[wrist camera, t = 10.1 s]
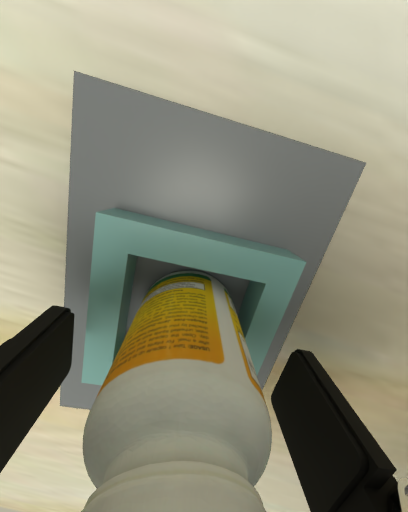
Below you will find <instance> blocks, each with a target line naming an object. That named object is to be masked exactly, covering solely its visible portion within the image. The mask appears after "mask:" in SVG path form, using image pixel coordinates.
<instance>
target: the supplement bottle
mask: <svg viewBox="0 0 408 512" xmlns="http://www.w3.org/2000/svg"><path fill="white" fill-rule="evenodd" d="M271 443H272V430H271V422H270V417H269V413H268V409H267V406H266V403H265V400H264V396H263V393H262V390H261V387H260V383H259V381H258V378H257V375H256V371H255V368H254V365H253V362H252V359H251V356H250V353H249V350H248V347H247V344H246V341H245V338H244V335H243V332H242V329H241V326H240V322H239V319H238V316H237V313H236V310H235V307H234V304H233V302H232V299H231V297H230V294H229V292H228V291H227V289H226V288H225V287H224V286H223V285H222V284H221V283H220V282H219V281H218V280H217V279H215V278H214V277H212V276H210V275H208V274H206V273H203V272H199V271H178V272H174V273H170V274H168V275H166V276H164V277H162V278H160V279H159V280H158V281H156V282H155V283H154V284H153V285H152V286H151V287H150V289H149V290H148V291H147V293H146V295H145V297H144V299H143V301H142V303H141V305H140V307H139V309H138V311H137V313H136V315H135V317H134V320H133V322H132V324H131V326H130V328H129V330H128V332H127V334H126V336H125V339H124V341H123V343H122V345H121V347H120V349H119V351H118V353H117V355H116V358H115V360H114V362H113V364H112V366H111V368H110V370H109V372H108V374H107V376H106V378H105V381H104V383H103V385H102V387H101V389H100V391H99V393H98V395H97V397H96V399H95V401H94V403H93V406H92V408H91V410H90V412H89V415H88V418H87V421H86V424H85V429H84V435H83V456H84V462H85V466H86V469H87V472H88V475H89V477H90V479H91V481H92V482H93V484H94V485H95V487H96V488H97V490H96V491H95V492H94V493H93V494H92V495H91V496H90V497H89V499H88V501H87V503H86V505H85V507H84V509H83V510H82V511H81V512H266V511H265V509H264V507H263V503H262V500H261V498H260V496H259V494H258V492H257V490H256V489H255V488H254V486H255V485H256V483H257V482H258V480H259V479H260V477H261V475H262V474H263V472H264V470H265V467H266V465H267V462H268V459H269V455H270V451H271Z"/></svg>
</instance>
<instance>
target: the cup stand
mask: <svg viewBox="0 0 408 512" xmlns="http://www.w3.org/2000/svg"><path fill="white" fill-rule="evenodd" d="M365 165H366V163H365V162H362V161H359V160H356V159H353V158H349V157H346V156H343V155H340V154H337V153H334V152H330V151H327V150H324V149H321V148H318V147H314V146H311V145H308V144H305V143H302V142H299V141H295V140H292V139H289V138H286V137H283V136H280V135H276V134H273V133H270V132H267V131H264V130H261V129H257V128H254V127H251V126H248V125H245V124H241V123H238V122H235V121H232V120H229V119H226V118H222V117H219V116H216V115H213V114H210V113H207V112H203V111H200V110H197V109H194V108H191V107H187V106H184V105H181V104H178V103H175V102H172V101H168V100H165V99H162V98H159V97H156V96H153V95H149V94H146V93H143V92H140V91H137V90H134V89H130V88H127V87H124V86H121V85H118V84H114V83H111V82H108V81H105V80H102V79H99V78H95V77H92V76H89V75H86V74H83V73H80V72H76V71H74V84H73V108H72V131H71V155H70V179H69V202H68V226H67V250H66V273H65V297H64V307H65V308H69V309H70V310H71V313H74V315H75V317H74V333H73V349H72V364H71V368H70V371H69V373H68V375H67V376H66V378H65V379H64V381H63V382H62V384H61V391H60V406H65V407H73V408H81V409H89V410H91V408H92V406H93V403H94V401H95V399H96V397H97V395H98V393H99V391H100V389H101V387H102V385H103V383H104V381H105V378H106V376H107V374H108V372H109V370H110V368H111V366H112V364H113V362H114V360H115V358H116V355H117V353H118V351H119V349H120V347H121V345H122V343H123V341H124V339H125V336H126V334H127V332H128V330H129V328H130V326H131V324H132V322H133V320H134V317H135V315H136V313H137V311H138V309H139V307H140V305H141V303H142V301H143V299H144V297H145V295H146V293H147V291H148V290H149V289H150V287H151V286H152V285H153V284H154V283H155V282H156V281H158V280H159V279H160V278H162V277H164V276H166V275H168V274H170V273H174V272H178V271H199V272H203V273H206V274H208V275H210V276H212V277H214V278H215V279H217V280H218V281H219V282H220V283H221V284H222V285H223V286H224V287H225V288H226V289H227V291H228V292H229V294H230V297H231V299H232V302H233V304H234V307H235V310H236V313H237V316H238V319H239V322H240V326H241V329H242V332H243V335H244V338H245V341H246V344H247V347H248V350H249V353H250V356H251V359H252V362H253V365H254V368H255V371H256V375H257V378H258V381H259V383H260V387H261V390H262V389H263V387H264V385H265V383H266V380H267V378H268V376H269V374H270V372H271V370H272V367H273V365H274V363H275V361H276V359H277V357H278V354H279V352H280V350H281V348H282V346H283V343H284V341H285V339H286V337H287V335H288V333H289V330H290V328H291V326H292V324H293V322H294V319H295V317H296V315H297V313H298V311H299V309H300V306H301V304H302V302H303V300H304V298H305V296H306V293H307V291H308V289H309V287H310V285H311V282H312V280H313V278H314V276H315V274H316V272H317V269H318V267H319V265H320V263H321V261H322V258H323V256H324V254H325V252H326V250H327V248H328V245H329V243H330V241H331V239H332V237H333V234H334V232H335V230H336V228H337V226H338V224H339V221H340V219H341V217H342V215H343V213H344V211H345V208H346V206H347V204H348V202H349V200H350V197H351V195H352V193H353V191H354V189H355V187H356V184H357V182H358V180H359V178H360V176H361V173H362V171H363V169H364V167H365Z"/></svg>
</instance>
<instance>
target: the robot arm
mask: <svg viewBox="0 0 408 512" xmlns="http://www.w3.org/2000/svg"><path fill="white" fill-rule="evenodd" d="M74 317H75V315H74V313H71V310H70V309H69V308H65V307H60V306H51V307H50V308H49V309H47V310H46V311H45V312H44V313H43V314H41V315H40V316H39V317H38V318H36V319H35V320H34V321H33V322H32V323H30V324H29V325H28V326H27V327H25V328H24V329H23V330H22V331H20V332H19V333H18V334H17V335H16V336H14V337H13V338H11V339H9V340H7V341H6V342H4V343H3V344H2V345H1V346H0V473H1V471H2V470H3V468H4V467H5V465H6V464H7V462H8V461H9V459H10V458H11V457H12V455H13V454H14V452H15V451H16V449H17V448H18V446H19V445H20V443H21V442H22V441H23V439H24V438H25V436H26V435H27V433H28V432H29V430H30V429H31V427H32V426H33V424H34V423H35V422H36V420H37V419H38V417H39V416H40V414H41V413H42V411H43V410H44V408H45V407H46V405H47V404H48V403H49V401H50V400H51V398H52V397H53V395H54V394H55V392H56V391H57V389H58V388H59V387H60V385H61V384H62V382H63V381H64V379H65V378H66V376H67V375H68V373H69V371H70V368H71V364H72V349H73V333H74ZM271 402H272V405H273V408H274V411H275V414H276V417H277V419H278V422H279V425H280V428H281V430H282V433H283V436H284V439H285V442H286V444H287V447H288V450H289V453H290V455H291V458H292V461H293V464H294V467H295V469H296V472H297V475H298V478H299V480H300V483H301V486H302V489H303V492H304V494H305V497H306V500H307V503H308V505H309V508H310V511H311V512H408V478H400V480H399V481H398V482H397V481H396V480H395V478H394V477H393V474H394V473H395V471H396V468H395V467H394V465H393V464H392V463H391V461H390V460H389V459H388V457H387V456H386V454H385V453H384V452H383V450H382V449H381V447H380V446H379V445H378V443H377V442H376V440H375V439H374V438H373V436H372V435H371V434H370V432H369V431H368V429H367V428H366V427H365V425H364V424H363V422H362V421H361V420H360V418H359V417H358V415H357V414H356V413H355V411H354V410H353V409H352V407H351V406H350V404H349V403H348V402H347V400H346V399H345V397H344V396H343V395H342V393H341V392H340V390H339V389H338V388H337V386H336V385H335V384H334V382H333V381H332V379H331V378H330V377H329V375H328V374H327V372H326V371H325V370H324V368H323V367H322V365H321V364H320V363H319V361H318V360H317V359H316V357H315V356H314V354H313V353H312V352H310V351H305V350H300V349H297V350H295V352H292V353H291V355H290V357H289V359H288V361H287V364H286V366H285V368H284V370H283V372H282V374H281V376H280V378H279V380H278V382H277V384H276V386H275V388H274V391H273V393H272V395H271Z"/></svg>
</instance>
